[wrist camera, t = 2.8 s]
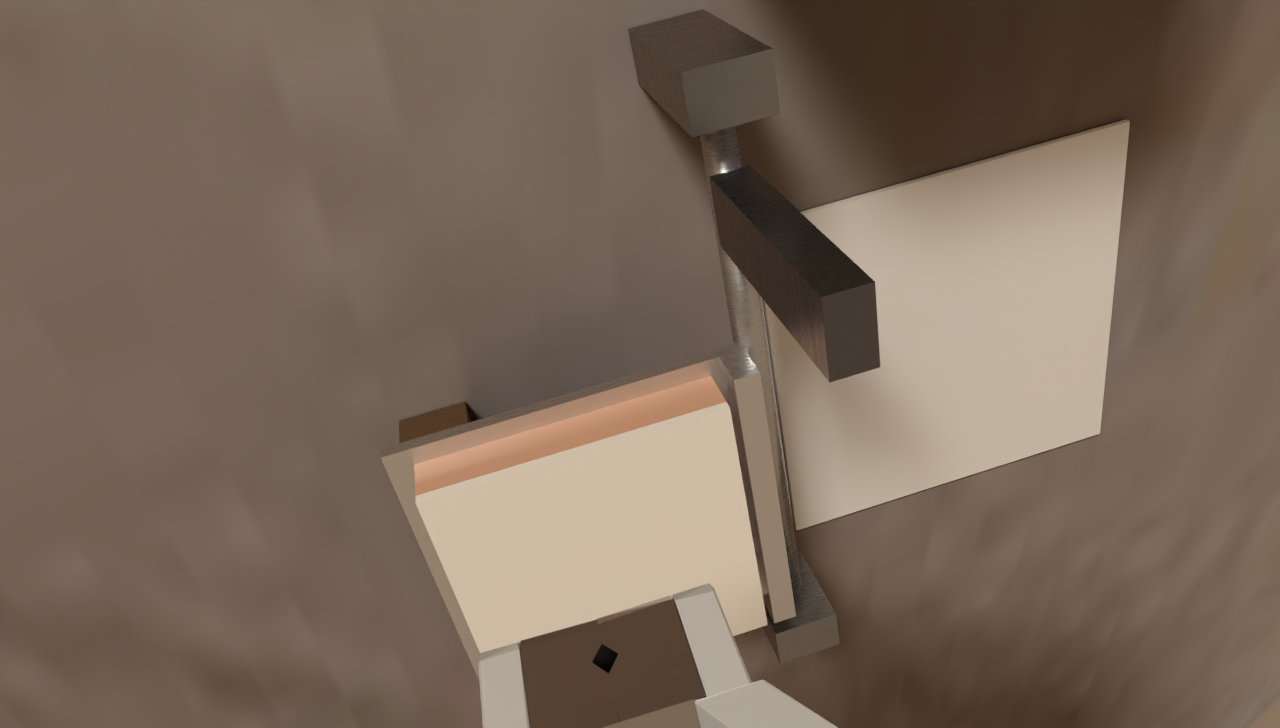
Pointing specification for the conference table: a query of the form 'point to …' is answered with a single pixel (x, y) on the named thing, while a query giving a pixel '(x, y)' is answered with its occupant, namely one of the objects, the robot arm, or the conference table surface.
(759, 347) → the flipper
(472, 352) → the conference table surface
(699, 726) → the robot arm
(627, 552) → the tile
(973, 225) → the mat
